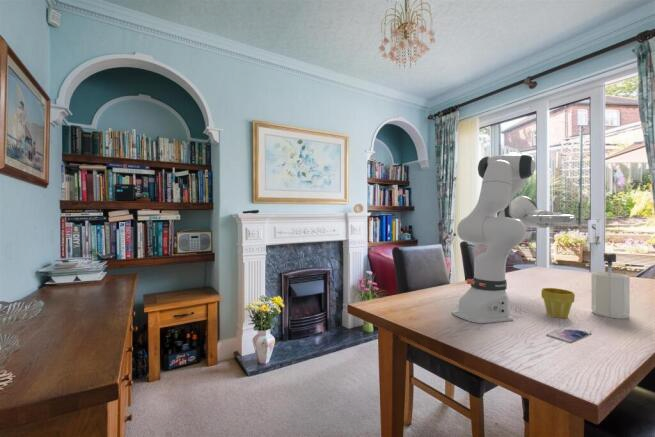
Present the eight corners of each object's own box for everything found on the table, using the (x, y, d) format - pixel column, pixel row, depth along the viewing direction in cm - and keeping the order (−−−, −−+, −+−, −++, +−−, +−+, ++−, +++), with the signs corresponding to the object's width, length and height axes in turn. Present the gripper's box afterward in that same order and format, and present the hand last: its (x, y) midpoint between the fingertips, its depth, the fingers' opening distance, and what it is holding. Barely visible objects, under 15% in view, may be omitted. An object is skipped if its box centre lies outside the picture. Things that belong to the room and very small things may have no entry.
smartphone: (592, 333, 99) (571, 342, 91) (592, 335, 99) (571, 345, 91) (567, 325, 105) (545, 334, 98) (567, 328, 105) (545, 336, 98)
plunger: (617, 312, 113) (617, 255, 113) (593, 307, 120) (592, 253, 120) (627, 310, 116) (627, 254, 116) (603, 305, 123) (602, 252, 123)
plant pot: (581, 320, 111) (580, 294, 111) (549, 319, 113) (549, 293, 113) (564, 312, 121) (564, 288, 121) (536, 310, 123) (536, 287, 123)
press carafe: (620, 320, 111) (620, 277, 111) (586, 312, 121) (586, 273, 121) (637, 315, 117) (637, 274, 117) (604, 308, 126) (604, 270, 126)
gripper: (520, 213, 150) (538, 212, 136) (562, 212, 149) (585, 212, 135) (520, 225, 150) (538, 226, 136) (562, 225, 149) (585, 226, 135)
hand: (562, 219), depth 136 cm, fingers open, 8 cm apart
